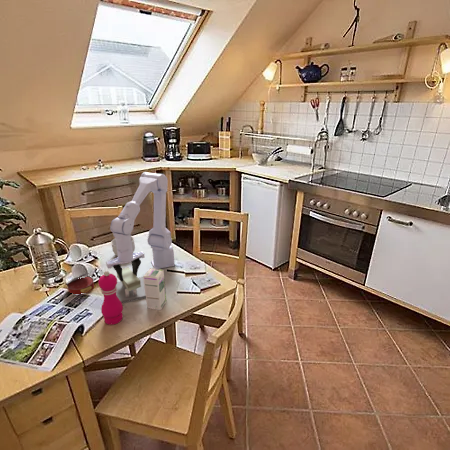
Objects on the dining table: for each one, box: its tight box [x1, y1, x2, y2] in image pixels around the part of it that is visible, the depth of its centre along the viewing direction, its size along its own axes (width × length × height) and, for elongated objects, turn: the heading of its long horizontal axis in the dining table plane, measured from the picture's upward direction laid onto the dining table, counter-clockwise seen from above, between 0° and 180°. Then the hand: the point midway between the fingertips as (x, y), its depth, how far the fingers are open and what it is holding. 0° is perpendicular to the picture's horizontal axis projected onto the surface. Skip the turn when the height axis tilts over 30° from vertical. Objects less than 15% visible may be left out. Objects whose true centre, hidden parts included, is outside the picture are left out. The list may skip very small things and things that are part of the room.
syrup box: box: [142, 267, 167, 311], centre depth 117 cm, size 6×6×14 cm
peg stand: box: [116, 276, 146, 304], centre depth 127 cm, size 18×14×4 cm
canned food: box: [65, 272, 95, 294], centre depth 128 cm, size 11×10×10 cm
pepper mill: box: [98, 270, 124, 326], centre depth 108 cm, size 7×7×20 cm
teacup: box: [110, 236, 136, 257], centre depth 156 cm, size 14×11×8 cm
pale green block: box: [116, 266, 141, 291], centre depth 125 cm, size 12×5×3 cm, turn 38°
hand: (128, 277), depth 125 cm, fingers open, 5 cm apart
